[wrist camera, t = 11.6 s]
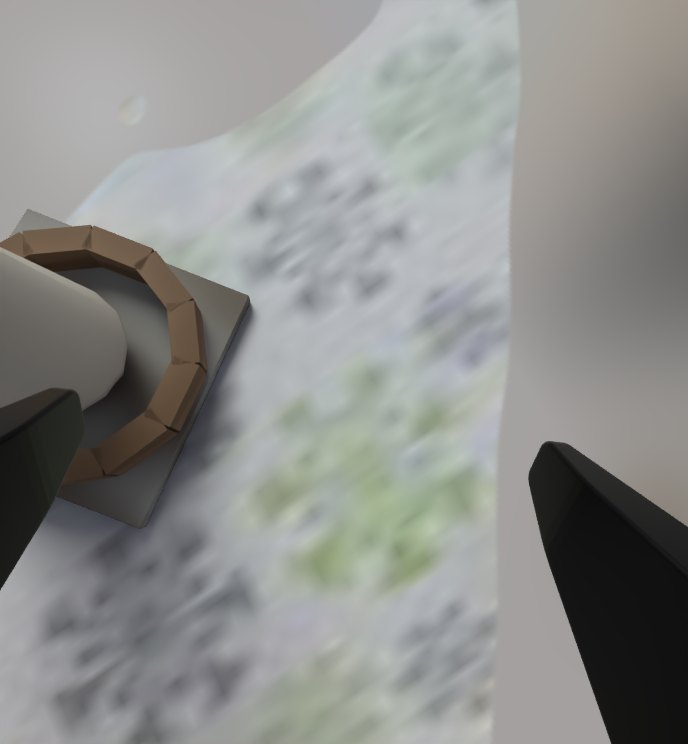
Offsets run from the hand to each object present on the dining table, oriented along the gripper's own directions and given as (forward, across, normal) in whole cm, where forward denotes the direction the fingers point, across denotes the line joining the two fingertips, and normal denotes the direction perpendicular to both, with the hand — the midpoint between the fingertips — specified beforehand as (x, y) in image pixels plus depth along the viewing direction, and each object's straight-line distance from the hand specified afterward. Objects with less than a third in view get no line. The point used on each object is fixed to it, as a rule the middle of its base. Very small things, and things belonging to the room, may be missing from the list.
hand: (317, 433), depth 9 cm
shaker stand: (+12, +11, +7) cm, 18 cm away
